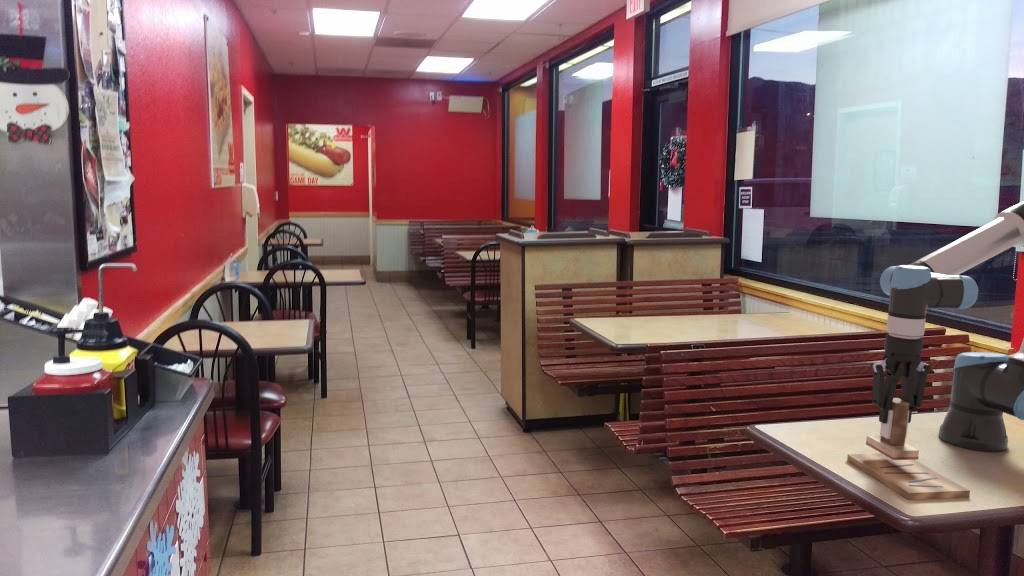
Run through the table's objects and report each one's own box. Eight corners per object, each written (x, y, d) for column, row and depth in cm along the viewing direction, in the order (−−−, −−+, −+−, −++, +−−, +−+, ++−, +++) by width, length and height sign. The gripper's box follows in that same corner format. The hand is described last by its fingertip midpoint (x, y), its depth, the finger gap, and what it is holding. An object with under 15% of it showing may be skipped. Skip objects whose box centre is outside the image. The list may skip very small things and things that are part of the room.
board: (901, 458, 183) (902, 452, 183) (969, 497, 162) (970, 489, 161) (847, 460, 181) (847, 454, 181) (908, 499, 159) (909, 492, 159)
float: (889, 443, 181) (895, 394, 179) (918, 459, 171) (924, 407, 169) (865, 444, 180) (871, 394, 178) (893, 460, 170) (899, 407, 168)
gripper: (926, 331, 176) (914, 430, 180) (860, 331, 174) (850, 431, 177) (949, 338, 169) (936, 441, 173) (881, 338, 167) (870, 442, 170)
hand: (892, 436), depth 175 cm, fingers closed on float, 3 cm apart
